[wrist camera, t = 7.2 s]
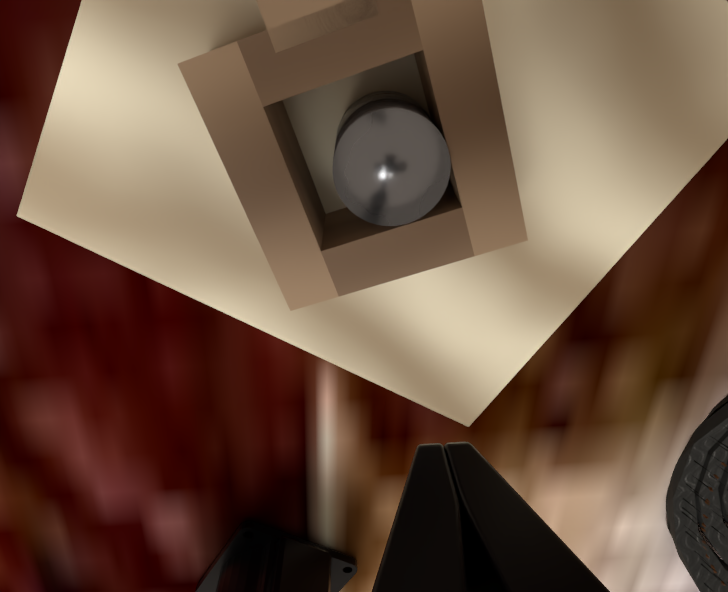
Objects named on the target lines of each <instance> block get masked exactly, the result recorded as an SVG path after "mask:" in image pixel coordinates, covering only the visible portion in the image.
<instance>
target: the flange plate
mask: <svg viewBox="0 0 728 592" xmlns="http://www.w3.org/2000/svg"><path fill="white" fill-rule="evenodd" d="M256 1H257V4H258V6H259V9H260V12H261V15H262V17H263V20H264V23H265V25H266V28H267V30H266V31H263V32H260V33H258V34H255V35H252V36H250V37H247V38H244V39H242V40H239V41H236V42H234V43H231V44H228V45H226V46H223V47H220V48H218V49H215V50H212V51H210V52H207V53H204V54H202V55H199V56H196V57H194V58H191V59H188V60H186V61H183V62H180V63H178V67H179V69H180V71H181V73H182V75H183V77H184V80H185V82H186V84H187V86H188V88H189V91H190V93H191V95H192V97H193V99H194V102H195V104H196V106H197V108H198V110H199V112H200V115H201V117H202V119H203V121H204V123H205V126H206V128H207V130H208V132H209V134H210V136H211V139H212V141H213V143H214V145H215V147H216V150H217V152H218V154H219V156H220V158H221V160H222V163H223V165H224V167H225V169H226V171H227V174H228V176H229V178H230V180H231V182H232V185H233V187H234V189H235V191H236V193H237V195H238V198H239V200H240V202H241V204H242V206H243V209H244V211H245V213H246V215H247V217H248V219H249V222H250V224H251V226H252V228H253V230H254V233H255V235H256V237H257V239H258V241H259V244H260V246H261V248H262V250H263V252H264V254H265V257H266V259H267V261H268V263H269V265H270V268H271V270H272V272H273V274H274V276H275V278H276V281H277V283H278V285H279V287H280V289H281V292H282V294H283V296H284V298H285V300H286V302H287V305H288V307H289V309H290V311H292V310H296V309H299V308H302V307H306V306H309V305H313V304H316V303H319V302H323V301H326V300H329V299H333V298H336V297H339V296H343V295H346V294H350V293H353V292H356V291H360V290H363V289H366V288H370V287H373V286H376V285H380V284H383V283H387V282H390V281H393V280H397V279H400V278H403V277H407V276H410V275H413V274H417V273H420V272H424V271H427V270H430V269H434V268H437V267H440V266H444V265H447V264H450V263H454V262H457V261H461V260H464V259H467V258H471V257H474V256H477V255H481V254H484V253H488V252H491V251H494V250H498V249H501V248H504V247H508V246H511V245H514V244H518V243H521V242H525V241H528V238H527V232H526V227H525V222H524V217H523V211H522V206H521V201H520V196H519V191H518V185H517V180H516V175H515V170H514V164H513V159H512V154H511V149H510V144H509V138H508V133H507V128H506V123H505V117H504V112H503V107H502V102H501V97H500V91H499V86H498V81H497V76H496V71H495V65H494V60H493V55H492V50H491V44H490V39H489V34H488V29H487V24H486V18H485V13H484V8H483V3H482V0H256ZM413 53H414V56H415V60H416V63H417V67H418V71H419V75H420V79H421V83H422V87H423V91H424V95H425V99H426V102H427V106H428V110H429V114H430V118H431V120H432V121H433V123H434V124H435V126H436V127H437V129H438V130H439V132H440V133H441V135H442V136H443V138H444V140H445V142H446V144H447V147H448V150H449V154H450V162H451V171H450V177H449V181H448V185H447V187H446V190H445V192H444V194H443V196H442V197H441V199H440V200H439V202H438V203H437V204H436V205H435V206H434V207H433V208H432V209H431V210H430V211H429V212H428V213H427V214H425V215H424V216H422V217H421V218H419V219H417V220H415V221H413V222H410V223H407V224H404V225H398V226H381V225H376V224H373V223H370V222H367V221H365V220H363V219H361V218H359V217H358V216H356V215H355V214H354V213H353V212H351V211H350V210H349V209H348V208H347V207H346V208H342V209H339V210H336V211H333V212H330V213H327V214H326V213H325V211H324V208H323V205H322V203H321V200H320V198H319V195H318V192H317V190H316V187H315V184H314V182H313V179H312V177H311V174H310V171H309V169H308V166H307V163H306V161H305V158H304V156H303V153H302V150H301V148H300V145H299V142H298V140H297V137H296V135H295V132H294V129H293V127H292V124H291V121H290V119H289V116H288V114H287V111H286V108H285V106H284V103H283V100H284V99H287V98H289V97H292V96H295V95H298V94H301V93H303V92H306V91H309V90H312V89H315V88H318V87H320V86H323V85H326V84H329V83H332V82H334V81H337V80H340V79H343V78H346V77H349V76H351V75H354V74H357V73H360V72H363V71H365V70H368V69H371V68H374V67H377V66H380V65H382V64H385V63H388V62H391V61H394V60H396V59H399V58H402V57H405V56H408V55H410V54H413Z"/></svg>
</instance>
